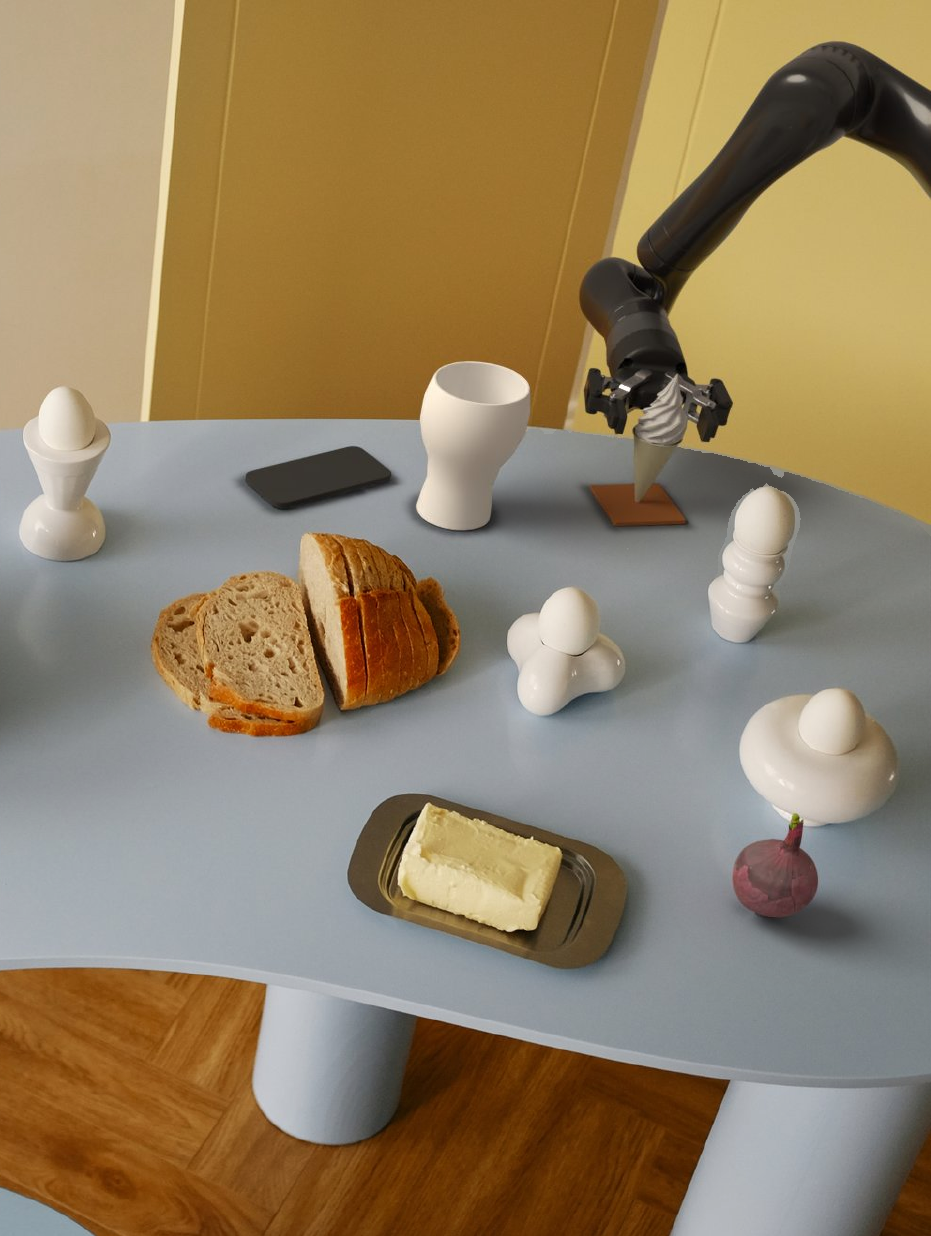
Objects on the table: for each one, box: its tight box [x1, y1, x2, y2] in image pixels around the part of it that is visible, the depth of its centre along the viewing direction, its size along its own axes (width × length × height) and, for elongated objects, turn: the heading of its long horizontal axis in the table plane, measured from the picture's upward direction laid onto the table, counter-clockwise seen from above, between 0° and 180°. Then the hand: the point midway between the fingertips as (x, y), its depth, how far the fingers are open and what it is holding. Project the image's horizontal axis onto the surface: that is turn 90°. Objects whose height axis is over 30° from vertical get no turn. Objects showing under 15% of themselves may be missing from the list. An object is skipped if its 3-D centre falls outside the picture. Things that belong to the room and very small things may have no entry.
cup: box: [415, 360, 531, 531], centre depth 170 cm, size 11×11×15 cm
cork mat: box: [589, 482, 687, 527], centre depth 176 cm, size 8×8×1 cm
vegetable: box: [731, 812, 819, 918], centre depth 126 cm, size 6×6×10 cm
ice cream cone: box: [632, 374, 689, 503], centre depth 171 cm, size 5×5×15 cm
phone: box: [245, 445, 392, 509], centre depth 179 cm, size 7×1×15 cm
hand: (665, 430), depth 168 cm, fingers open, 8 cm apart
